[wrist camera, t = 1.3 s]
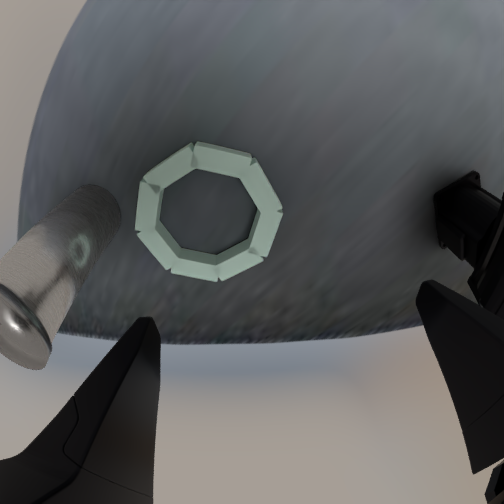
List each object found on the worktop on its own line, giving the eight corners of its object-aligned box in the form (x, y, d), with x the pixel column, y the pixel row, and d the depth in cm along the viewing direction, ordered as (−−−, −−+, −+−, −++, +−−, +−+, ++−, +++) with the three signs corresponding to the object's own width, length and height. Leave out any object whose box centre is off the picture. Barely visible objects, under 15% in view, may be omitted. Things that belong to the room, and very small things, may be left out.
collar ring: (232, 118, 17) (232, 120, 15) (296, 232, 22) (301, 242, 20) (118, 194, 19) (110, 201, 17) (191, 285, 24) (190, 296, 22)
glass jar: (95, 168, 17) (-23, 270, 6) (135, 222, 20) (63, 359, 9) (56, 206, 19) (-40, 310, 8) (94, 253, 21) (26, 375, 10)
